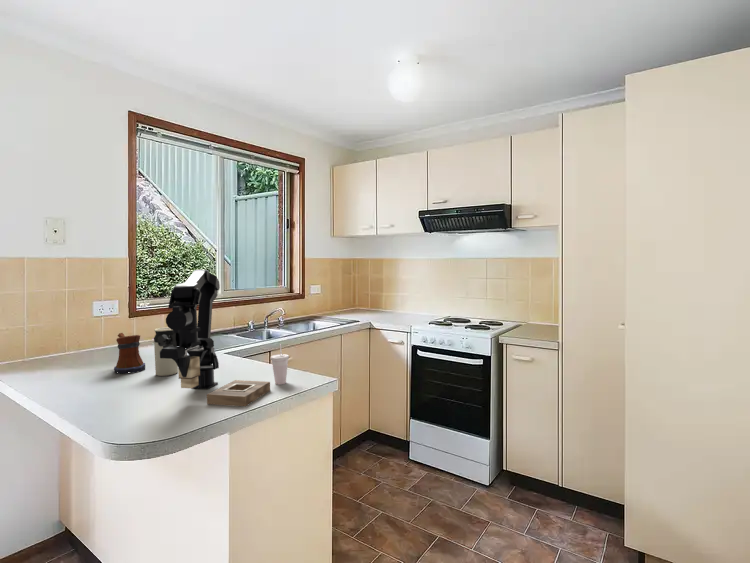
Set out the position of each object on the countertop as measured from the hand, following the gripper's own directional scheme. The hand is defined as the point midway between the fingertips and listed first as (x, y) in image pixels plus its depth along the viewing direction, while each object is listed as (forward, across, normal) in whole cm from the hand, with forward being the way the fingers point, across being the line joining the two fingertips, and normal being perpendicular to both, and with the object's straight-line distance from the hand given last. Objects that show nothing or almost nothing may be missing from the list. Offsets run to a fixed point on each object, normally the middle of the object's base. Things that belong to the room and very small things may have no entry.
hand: (189, 375), depth 134 cm
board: (+8, -7, +13) cm, 17 cm away
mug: (+9, -33, -54) cm, 64 cm away
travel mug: (+9, -29, -32) cm, 44 cm away
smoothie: (+9, -24, +19) cm, 32 cm away
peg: (+4, 0, 0) cm, 4 cm away
